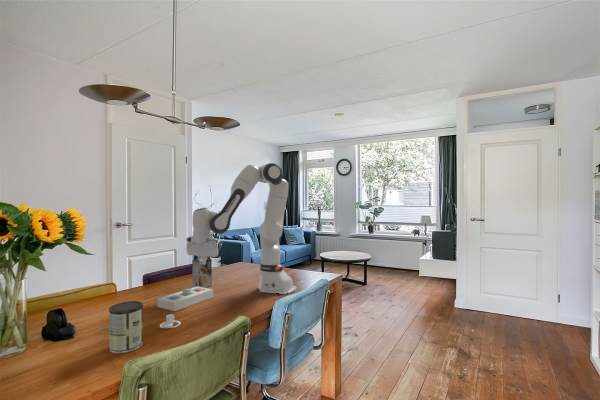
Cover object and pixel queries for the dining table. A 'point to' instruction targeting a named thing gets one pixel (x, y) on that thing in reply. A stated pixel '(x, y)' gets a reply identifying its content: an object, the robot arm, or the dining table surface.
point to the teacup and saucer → (169, 322)
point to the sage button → (186, 292)
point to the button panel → (184, 299)
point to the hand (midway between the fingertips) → (202, 264)
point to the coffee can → (125, 326)
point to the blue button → (173, 297)
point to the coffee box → (202, 273)
